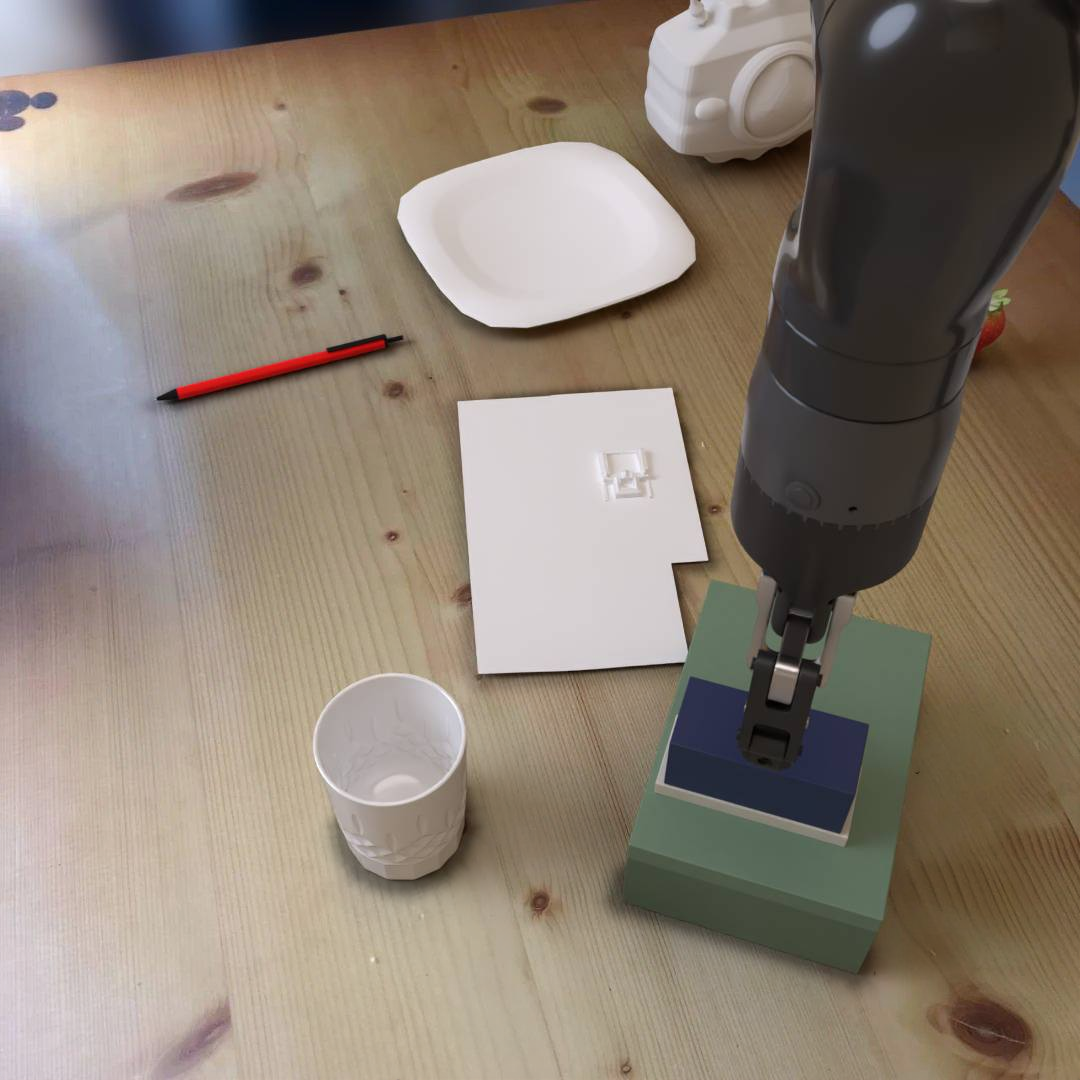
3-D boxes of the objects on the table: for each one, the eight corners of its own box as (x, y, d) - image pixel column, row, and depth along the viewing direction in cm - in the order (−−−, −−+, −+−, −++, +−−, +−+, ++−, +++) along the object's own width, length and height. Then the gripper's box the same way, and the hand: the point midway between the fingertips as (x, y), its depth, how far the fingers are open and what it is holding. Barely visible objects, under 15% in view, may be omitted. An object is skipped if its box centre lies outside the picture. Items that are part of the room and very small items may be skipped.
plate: (724, 281, 105) (727, 264, 104) (479, 362, 99) (478, 345, 98) (599, 141, 117) (600, 124, 116) (374, 205, 111) (372, 189, 110)
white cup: (364, 914, 71) (343, 830, 64) (317, 796, 76) (291, 705, 68) (496, 857, 73) (491, 768, 66) (442, 746, 78) (431, 651, 70)
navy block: (858, 774, 69) (877, 724, 65) (844, 847, 66) (863, 799, 62) (675, 723, 71) (683, 671, 67) (654, 792, 68) (660, 742, 64)
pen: (404, 345, 100) (403, 334, 99) (156, 408, 96) (153, 397, 95) (401, 338, 101) (400, 327, 100) (154, 400, 96) (151, 389, 96)
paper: (441, 404, 96) (440, 394, 95) (669, 381, 97) (670, 370, 97) (479, 689, 80) (479, 679, 79) (750, 656, 82) (752, 646, 81)
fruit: (989, 389, 97) (1020, 307, 91) (916, 379, 98) (941, 297, 92) (988, 344, 100) (1018, 261, 94) (917, 334, 101) (942, 251, 95)
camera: (627, 141, 117) (638, -31, 105) (800, 96, 122) (829, -74, 110) (685, 210, 111) (702, 35, 99) (864, 159, 116) (903, -13, 103)
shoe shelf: (906, 700, 80) (932, 634, 75) (857, 974, 69) (883, 921, 64) (699, 645, 83) (710, 578, 77) (621, 901, 72) (628, 844, 66)
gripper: (917, 615, 43) (838, 837, 56) (967, 340, 52) (889, 586, 65) (698, 562, 45) (668, 789, 58) (781, 303, 54) (740, 550, 66)
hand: (785, 682), depth 61 cm, fingers open, 8 cm apart
